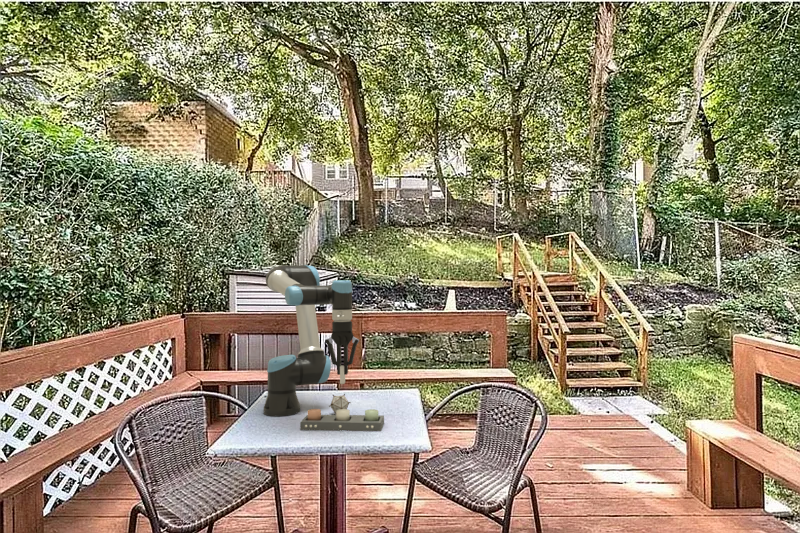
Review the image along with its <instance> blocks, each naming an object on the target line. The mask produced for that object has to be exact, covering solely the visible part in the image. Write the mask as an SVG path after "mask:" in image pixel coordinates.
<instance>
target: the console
mask: <svg viewBox="0 0 800 533" xmlns="http://www.w3.org/2000/svg"><path fill="white" fill-rule="evenodd" d="M299 422H300V423H299V429H300V431H335V432H336V431H337V432H338V431H339V432H340V430H341V431H342V430H347V431H348V430H349V432H350V431H351V432H355V431H356V432H381V431H382V429H383V427H384V424H385V415H384V414H383V415H379V414H378V421H365V414H364V415H363V414H350V421H336V414H335V415H334V414H321V420H308V414H306V416H305V417H304V418H303V419H302V420H301V421H299ZM342 432H343V431H342Z"/></svg>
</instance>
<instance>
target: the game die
mask: <svg viewBox="0 0 800 533" xmlns="http://www.w3.org/2000/svg"><path fill="white" fill-rule="evenodd" d="M332 397H333V398H332V400H331V403H330V405H328V407H329V408H331V409H332V411H333V412H334V414H333V415H336V410H339V409H348V407H349V405H350V404H351V403H352V402H351V401H348V399H347V398H346V393H344V394H343V395H334V394H332Z"/></svg>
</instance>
